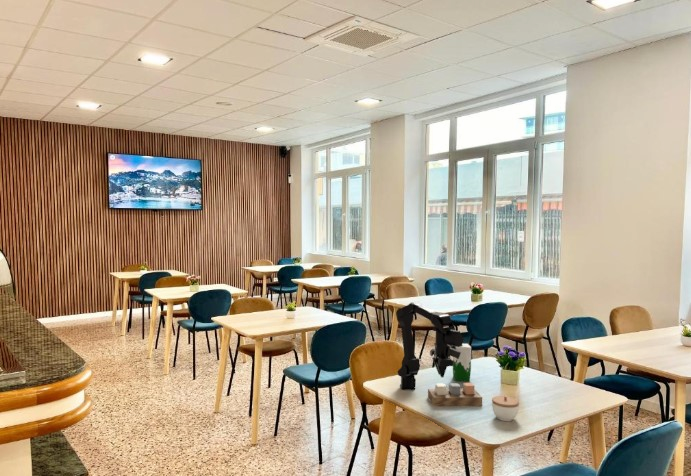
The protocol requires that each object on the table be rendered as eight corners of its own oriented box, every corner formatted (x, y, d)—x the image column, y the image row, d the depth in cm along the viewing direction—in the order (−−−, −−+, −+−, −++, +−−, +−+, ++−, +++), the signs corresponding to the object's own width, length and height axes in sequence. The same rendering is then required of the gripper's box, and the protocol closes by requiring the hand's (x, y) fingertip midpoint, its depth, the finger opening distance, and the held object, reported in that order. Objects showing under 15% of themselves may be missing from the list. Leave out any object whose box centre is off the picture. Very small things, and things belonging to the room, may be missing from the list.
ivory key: (437, 395, 219) (437, 386, 219) (435, 392, 223) (435, 383, 223) (446, 395, 220) (446, 386, 219) (443, 391, 224) (443, 383, 223)
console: (433, 406, 216) (433, 397, 216) (427, 397, 227) (428, 389, 227) (482, 406, 217) (482, 397, 217) (473, 397, 228) (474, 388, 228)
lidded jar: (503, 425, 197) (504, 402, 197) (486, 415, 207) (486, 393, 207) (524, 421, 201) (524, 399, 201) (505, 411, 211) (506, 390, 211)
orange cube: (465, 394, 220) (465, 385, 220) (462, 391, 224) (463, 382, 224) (474, 394, 220) (474, 385, 220) (471, 391, 224) (471, 382, 224)
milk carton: (451, 376, 258) (451, 339, 257) (468, 376, 258) (469, 339, 257) (454, 381, 249) (455, 343, 249) (472, 382, 249) (473, 343, 249)
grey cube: (451, 395, 220) (451, 386, 220) (449, 391, 224) (449, 383, 224) (460, 394, 220) (460, 386, 220) (457, 391, 224) (457, 383, 224)
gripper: (465, 347, 212) (464, 382, 212) (453, 337, 230) (452, 369, 231) (440, 347, 211) (439, 382, 212) (430, 337, 230) (429, 369, 230)
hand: (441, 375), depth 221 cm, fingers open, 4 cm apart
